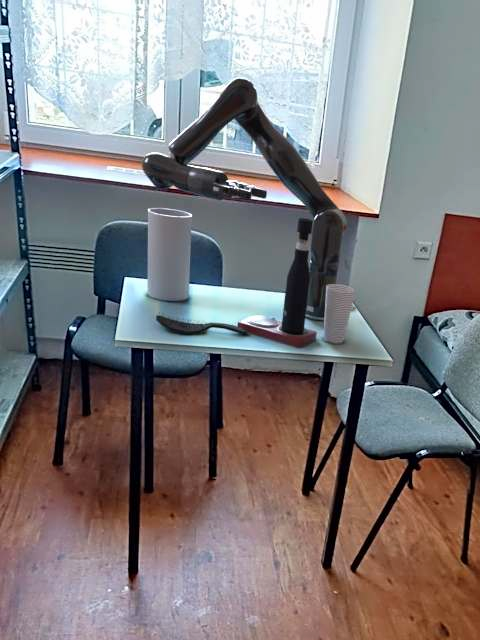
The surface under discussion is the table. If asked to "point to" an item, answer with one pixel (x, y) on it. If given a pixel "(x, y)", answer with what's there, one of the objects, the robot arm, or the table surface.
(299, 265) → the water bottle
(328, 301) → the cup
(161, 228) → the cylinder vase
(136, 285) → the table surface
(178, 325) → the hairbrush
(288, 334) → the hot plate
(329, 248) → the robot arm
